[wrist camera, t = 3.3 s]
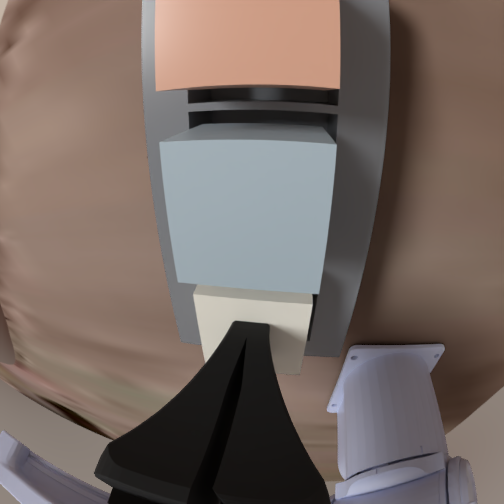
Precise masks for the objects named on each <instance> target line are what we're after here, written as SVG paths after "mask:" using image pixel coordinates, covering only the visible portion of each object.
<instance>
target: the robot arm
mask: <svg viewBox="0 0 504 504" xmlns="http://www.w3.org/2000/svg"><path fill="white" fill-rule="evenodd" d="M444 350H445V347H444V345H443V344H423V345H354V346H352V347H350V349H349V351H348V353H347V356H346V359H345V362H344V365H343V367H342V370H341V373H340V376H339V378H338V381H337V383H336V386H335V388H334V391H333V394H332V396H331V398H330V401H329V403H328V406H327V411H328V412H331V413H337V421H338V468H339V471H340V473H341V475H342V477H343V478H344V479H345V481H344V482H340V483H336V488H335V494H334V495H332V496H330V497H329V494H328V490H327V487H326V485H325V481H324V479H323V478H322V476H321V475H320V473H319V472H318V470H317V469H316V467H315V465H314V464H313V462H312V460H311V459H310V457H309V455H308V453H307V451H306V450H305V448H304V446H303V444H302V442H301V440H300V438H299V436H298V434H297V432H296V429H295V427H294V425H293V423H292V420H291V418H290V416H289V413H288V411H287V408H286V405H285V403H284V400H283V397H282V394H281V391H280V388H279V384H278V381H277V377H276V373H275V369H274V364H273V360H272V354H271V347H270V325H268V324H267V323H257V322H246V321H236V320H235V321H234V322H232V324H231V326H230V328H229V330H228V331H227V333H226V335H225V336H224V338H223V339H222V341H221V343H220V344H219V346H218V347H217V348H216V350H215V351H214V353H213V354H212V355H211V357H210V358H209V359H208V361H207V362H206V363H205V365H204V366H203V367H202V368H201V369H200V370H199V372H198V373H197V374H196V375H195V376H194V378H193V379H192V380H191V381H190V382H189V383H188V384H187V385H186V386H185V387H184V388H183V389H182V390H181V391H180V392H179V393H178V394H177V395H176V396H175V397H174V398H173V399H172V400H171V401H170V402H168V403H167V404H166V405H165V406H164V407H163V408H161V409H160V410H159V411H158V412H157V413H155V414H154V415H153V416H151V417H150V418H148V419H147V420H146V421H144V422H143V423H141V424H140V425H139V426H137V427H136V428H134V429H133V430H131V431H129V432H128V433H126V434H124V435H122V436H121V437H119V438H117V439H115V440H114V441H112V442H110V443H109V444H108V445H107V447H106V448H105V450H104V452H103V453H102V455H101V457H100V459H99V462H98V464H97V467H96V469H95V472H94V474H95V476H96V477H97V478H98V479H100V480H102V481H103V482H105V483H106V484H108V485H110V486H111V487H113V489H112V491H111V494H109V493H107V492H105V491H103V490H100V489H98V488H96V487H94V486H92V485H90V484H88V483H86V482H84V481H81V480H80V479H78V478H75V477H74V476H72V475H70V474H68V473H66V472H64V471H63V470H61V469H59V468H57V467H56V466H54V465H53V464H51V463H49V462H48V461H46V460H44V459H43V458H41V457H40V456H38V455H36V454H35V453H33V452H32V451H30V449H29V448H27V447H26V446H24V445H23V444H22V443H21V442H20V441H18V440H17V439H15V438H14V437H12V436H11V435H10V434H9V433H7V432H6V431H4V430H3V431H2V433H1V434H0V484H1V485H2V486H3V487H4V488H5V489H7V490H8V491H9V492H10V493H11V494H12V495H13V496H14V497H15V498H16V499H17V500H18V501H19V502H20V503H21V504H477V495H476V487H475V482H474V477H473V472H472V470H471V466H470V463H469V462H468V460H466V459H463V458H461V457H460V456H456V457H454V458H451V457H450V456H449V455H448V449H447V444H446V439H445V433H444V429H443V424H442V419H441V415H440V411H439V407H438V403H437V399H436V395H435V391H434V387H433V384H432V380H431V377H430V373H431V371H432V370H433V368H434V366H435V365H436V363H437V362H438V360H439V359H440V357H441V355H442V354H443V352H444Z"/></svg>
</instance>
